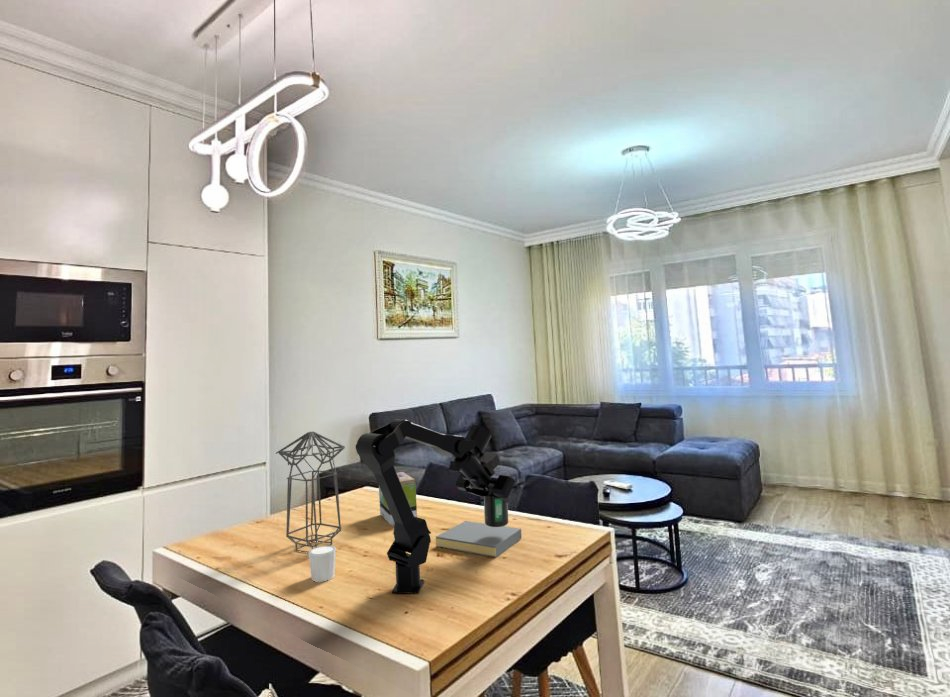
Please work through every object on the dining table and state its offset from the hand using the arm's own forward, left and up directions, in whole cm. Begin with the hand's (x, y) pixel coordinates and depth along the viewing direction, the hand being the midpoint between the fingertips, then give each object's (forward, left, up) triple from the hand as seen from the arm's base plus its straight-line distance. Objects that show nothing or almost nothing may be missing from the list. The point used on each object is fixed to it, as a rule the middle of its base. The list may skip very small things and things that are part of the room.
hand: (498, 499), depth 143 cm
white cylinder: (-22, +45, -13) cm, 51 cm away
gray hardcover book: (+2, +7, -13) cm, 15 cm away
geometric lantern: (-1, +57, -13) cm, 58 cm away
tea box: (+28, +39, -14) cm, 50 cm away
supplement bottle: (-1, +1, -7) cm, 7 cm away
